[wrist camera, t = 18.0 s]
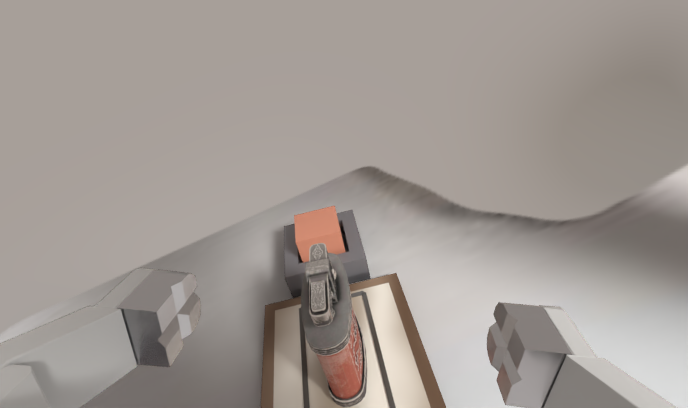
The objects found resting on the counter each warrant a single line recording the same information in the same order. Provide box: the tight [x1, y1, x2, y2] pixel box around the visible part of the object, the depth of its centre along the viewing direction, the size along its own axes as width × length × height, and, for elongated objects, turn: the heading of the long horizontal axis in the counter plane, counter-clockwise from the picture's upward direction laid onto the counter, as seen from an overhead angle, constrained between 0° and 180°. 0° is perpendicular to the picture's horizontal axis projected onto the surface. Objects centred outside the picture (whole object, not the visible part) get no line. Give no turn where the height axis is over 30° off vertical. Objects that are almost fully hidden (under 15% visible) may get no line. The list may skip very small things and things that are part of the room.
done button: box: [294, 206, 345, 263], centre depth 36 cm, size 4×4×3 cm
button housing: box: [284, 210, 370, 298], centre depth 38 cm, size 8×8×3 cm
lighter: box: [301, 243, 368, 407], centre depth 25 cm, size 8×3×10 cm, turn 5°
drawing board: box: [261, 273, 446, 408], centre depth 28 cm, size 13×14×1 cm
